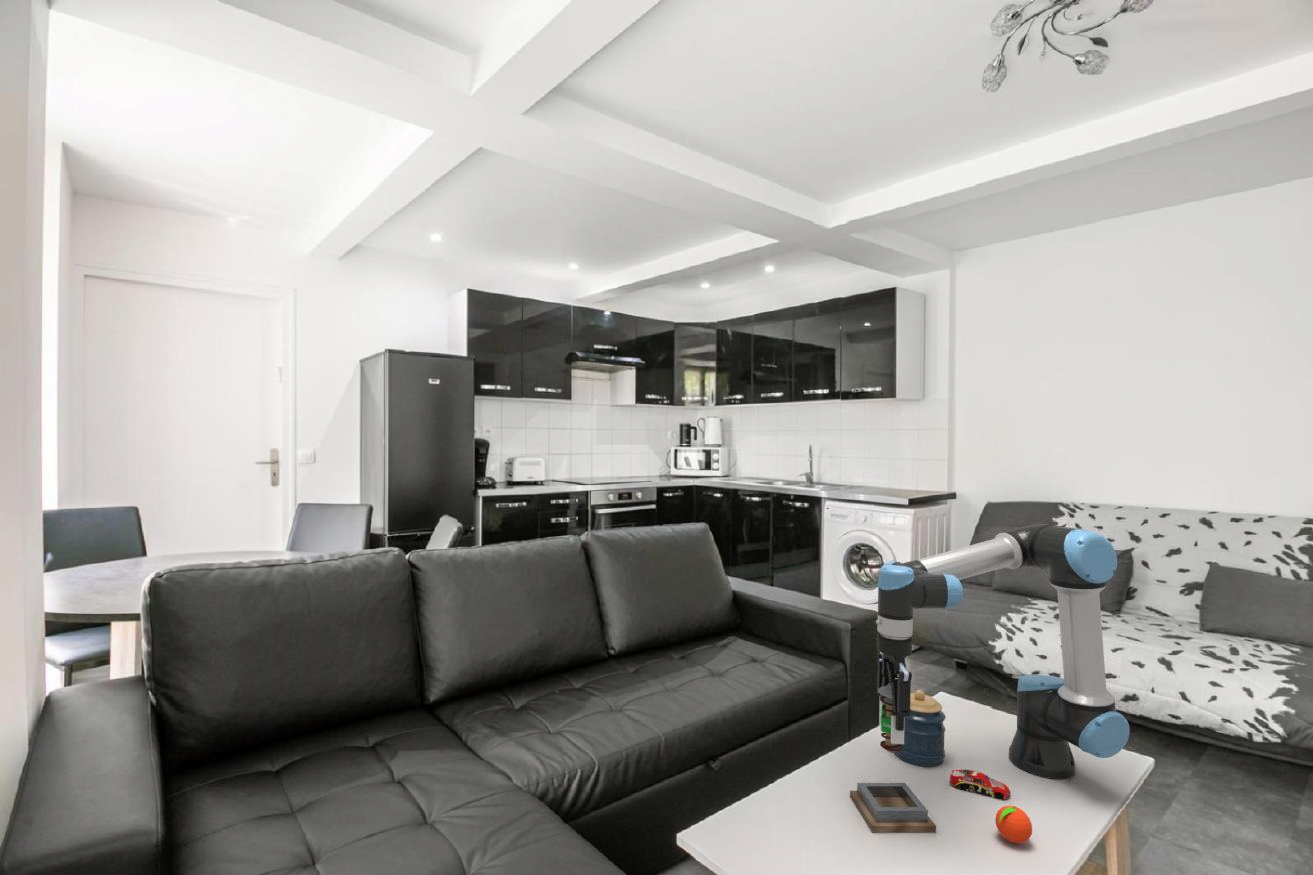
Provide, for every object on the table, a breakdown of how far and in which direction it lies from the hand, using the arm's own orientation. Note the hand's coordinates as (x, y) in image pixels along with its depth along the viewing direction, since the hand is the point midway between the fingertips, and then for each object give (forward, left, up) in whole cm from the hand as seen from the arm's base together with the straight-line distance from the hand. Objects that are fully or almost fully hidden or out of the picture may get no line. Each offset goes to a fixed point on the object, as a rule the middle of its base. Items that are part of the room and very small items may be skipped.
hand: (891, 737), depth 145 cm
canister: (-19, -27, -18) cm, 38 cm away
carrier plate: (0, 0, -17) cm, 17 cm away
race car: (-26, -10, -18) cm, 34 cm away
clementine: (-22, +10, -18) cm, 30 cm away
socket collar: (0, 0, -16) cm, 16 cm away
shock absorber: (0, 0, -3) cm, 3 cm away
